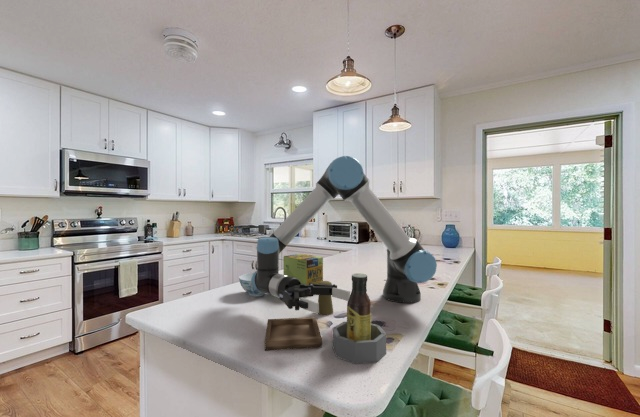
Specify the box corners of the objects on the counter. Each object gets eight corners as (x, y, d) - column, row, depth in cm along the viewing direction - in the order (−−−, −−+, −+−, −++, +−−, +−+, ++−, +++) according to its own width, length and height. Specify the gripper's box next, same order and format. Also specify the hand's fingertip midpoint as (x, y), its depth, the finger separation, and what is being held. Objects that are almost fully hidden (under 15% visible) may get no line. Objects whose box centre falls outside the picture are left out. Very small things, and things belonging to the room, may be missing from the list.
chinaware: (231, 296, 122) (231, 278, 122) (255, 287, 135) (255, 270, 135) (259, 301, 115) (259, 282, 115) (281, 291, 128) (281, 274, 128)
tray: (315, 324, 92) (315, 316, 92) (321, 347, 78) (321, 338, 78) (267, 327, 91) (267, 319, 91) (264, 350, 76) (264, 341, 76)
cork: (331, 316, 100) (331, 284, 100) (314, 314, 101) (314, 283, 101) (334, 309, 106) (334, 279, 106) (318, 308, 107) (318, 279, 107)
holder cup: (374, 337, 84) (375, 320, 84) (391, 361, 71) (391, 340, 71) (330, 339, 82) (330, 322, 82) (339, 364, 69) (339, 344, 69)
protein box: (306, 297, 120) (306, 260, 120) (282, 290, 131) (282, 255, 131) (323, 292, 128) (323, 257, 128) (299, 285, 139) (299, 253, 138)
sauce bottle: (344, 344, 79) (344, 271, 79) (367, 343, 80) (367, 271, 80) (349, 356, 73) (349, 277, 73) (373, 355, 73) (373, 277, 73)
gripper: (312, 290, 105) (360, 304, 91) (253, 308, 87) (302, 328, 72) (312, 270, 105) (360, 280, 90) (253, 283, 87) (302, 298, 72)
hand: (334, 301), depth 81 cm, fingers open, 13 cm apart
